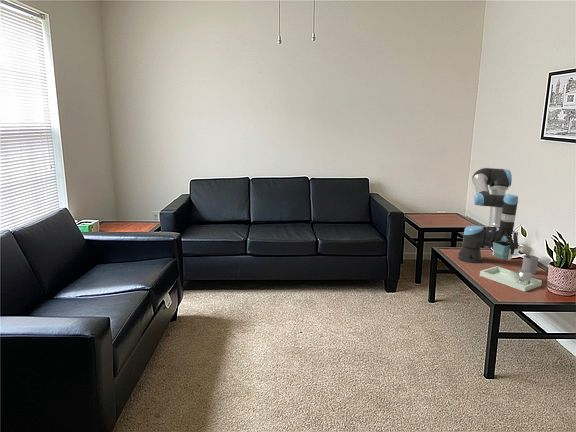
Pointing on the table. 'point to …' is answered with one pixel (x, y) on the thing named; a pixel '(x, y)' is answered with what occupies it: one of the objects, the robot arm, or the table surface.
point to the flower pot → (501, 249)
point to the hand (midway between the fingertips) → (501, 256)
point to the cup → (530, 263)
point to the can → (523, 277)
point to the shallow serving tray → (508, 278)
